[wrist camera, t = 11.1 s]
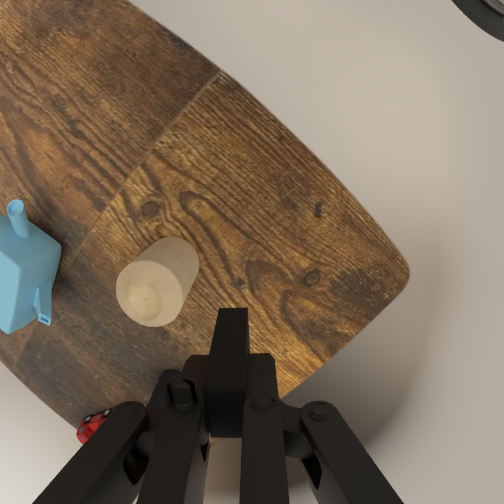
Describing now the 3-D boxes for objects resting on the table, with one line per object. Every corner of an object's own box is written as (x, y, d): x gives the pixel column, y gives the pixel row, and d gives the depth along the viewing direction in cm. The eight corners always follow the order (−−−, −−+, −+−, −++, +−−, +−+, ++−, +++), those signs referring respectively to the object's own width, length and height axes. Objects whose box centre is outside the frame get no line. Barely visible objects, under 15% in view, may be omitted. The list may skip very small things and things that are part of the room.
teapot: (20, 169, 29) (-40, 177, 19) (109, 227, 31) (58, 254, 21) (-10, 290, 33) (-55, 320, 23) (65, 348, 35) (26, 393, 25)
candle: (137, 251, 32) (95, 286, 22) (182, 225, 31) (152, 253, 21) (165, 296, 33) (134, 345, 23) (210, 273, 32) (193, 319, 23)
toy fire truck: (81, 417, 38) (57, 461, 29) (145, 395, 37) (124, 449, 27) (95, 432, 39) (74, 476, 30) (161, 412, 37) (144, 466, 28)
